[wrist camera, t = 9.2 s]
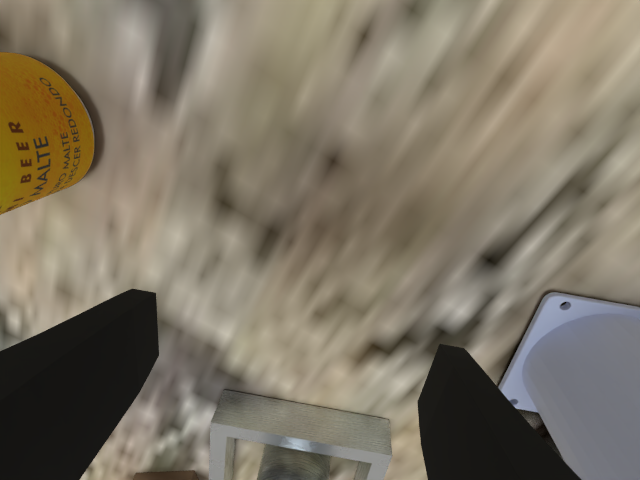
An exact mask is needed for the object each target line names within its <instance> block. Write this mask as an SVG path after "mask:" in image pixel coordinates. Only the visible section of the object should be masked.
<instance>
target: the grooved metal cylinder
mask: <svg viewBox="0 0 640 480" xmlns="http://www.w3.org/2000/svg"><path fill="white" fill-rule="evenodd" d="M329 471H330V456H329V455H324V454H319V453H313V452H308V451H302V450H297V449H292V448H286V447H281V446H275V445H270V444H266V445H265V448H264V452H263V456H262V460H261V464H260V469H259V473H258V477H257V480H329Z"/></svg>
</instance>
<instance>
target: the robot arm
mask: <svg viewBox="0 0 640 480" xmlns="http://www.w3.org/2000/svg"><path fill="white" fill-rule="evenodd" d="M563 302H567V303H566V304H565V305H562V306H560V305H561V304H562V303H563ZM158 356H159V346H158V326H157V306H156V293H153V292H148V291H142V290H137V289H130V290H128V291H126V292H124V293H121V294H119V295H117V296H115V297H113V298H111V299H109V300H107V301H105V302H103V303H101V304H99V305H97V306H95V307H93V308H91V309H89V310H87V311H85V312H83V313H81V314H79V315H77V316H75V317H73V318H71V319H68V320H66V321H64V322H62V323H60V324H58V325H56V326H54V327H52V328H50V329H48V330H46V331H44V332H42V333H40V334H38V335H36V336H33V337H31V338H29V339H27V340H24V341H22V342H20V343H18V344H16V345H13V346H11V347H9V348H7V349H5V350H2V351H0V480H79V479H80V478H81V476H82V475H83V474H84V472H85V471H86V469H87V468H88V466H89V465H90V463H91V462H92V461H93V459H94V458H95V456H96V455H97V453H98V452H99V450H100V449H101V448H102V446H103V445H104V443H105V442H106V440H107V439H108V438H109V436H110V435H111V433H112V432H113V430H114V429H115V427H116V426H117V425H118V423H119V422H120V420H121V419H122V417H123V416H124V414H125V413H126V411H127V410H128V408H129V407H130V406H131V404H132V403H133V401H134V400H135V398H136V397H137V395H138V394H139V392H140V390H141V388H142V387H143V385H144V383H145V381H146V379H147V377H148V376H149V374H150V372H151V370H152V368H153V366H154V364H155V362H156V360H157V358H158ZM511 399H513V400H511ZM516 408H517V409H522V410H528V411H533V412H538V413H539V414H540V416H541V418H542V420H543V422H544V424H545V426H546V427H547V429H548V431H549V433H550V435H551V437H552V439H553V440H554V442H555V444H556V446H557V448H558V450H559V452H560V453H561V455H562V457H563V459H564V461H565V462H564V461H563V460H562V459H561V458H560V457H559V456H558V454H557V453H556V452H555V451H554V450H553V449H552V448H551V447H550V446H549V445H548V444H547V443H546V442H545V441H544V440H543V438H542V437H541V436H540V435H539V434H538V433H537V432H536V431H535V430H534V429H533V427H532V426H531V425H530V424H529V423H528V422H527V421H526V420H525V418H524V417H523V416H522V415H521V414H520V413H519V412H518V410H517V409H516ZM418 414H419V427H420V437H421V446H422V451H423V456H424V461H425V466H426V471H427V476H428V480H640V307H636V306H631V305H625V304H619V303H614V302H608V301H602V300H597V299H591V298H586V297H580V296H574V295H569V294H563V293H557V292H552V293H549V294H547V295H546V296H545V297H544V298H543V299H542V301H541V303H540V305H539V307H538V309H537V311H536V313H535V315H534V317H533V319H532V321H531V323H530V325H529V327H528V329H527V331H526V333H525V335H524V337H523V339H522V341H521V343H520V345H519V347H518V349H517V351H516V353H515V355H514V357H513V359H512V361H511V363H510V365H509V367H508V369H507V371H506V373H505V375H504V377H503V379H502V381H501V383H500V385H499V387H497V386H496V385H495V384H494V382H493V381H492V380H491V379H490V378H489V376H488V375H487V374H486V373H485V372H484V371H483V369H482V368H481V367H480V366H479V365H478V363H477V362H476V361H475V360H474V359H473V358H472V357H471V355H470V354H469V353H468V352H467V351H466V350H465V349H464V348H459V347H454V346H448V345H443V344H440V345H439V347H438V350H437V352H436V355H435V358H434V360H433V363H432V366H431V368H430V371H429V374H428V376H427V379H426V381H425V384H424V387H423V389H422V392H421V395H420V397H419V400H418Z"/></svg>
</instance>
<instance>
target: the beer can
mask: <svg viewBox="0 0 640 480" xmlns="http://www.w3.org/2000/svg"><path fill="white" fill-rule="evenodd" d="M94 141H95V140H94V128H93V124H92V121H91V118H90V115H89V113H88V111H87V109H86V107H85V105H84V103H83V102H82V100H81V99H80V97H79V96H78V95H77V94H76V93H75V91H74V90H73V89H72V88H71V87H70V85H69V84H68V83H67V82H66V81H65V80H64V79H63V78H62V77H61V76H59V75H58V74H57V73H56V72H55V71H53V70H52V69H51V68H49V67H48V66H46V65H45V64H43V63H41V62H40V61H37V60H35V59H33V58H31V57H28V56H25V55H21V54H17V53H8V52H0V215H1V214H3V213H6V212H8V211H11V210H13V209H15V208H18V207H20V206H23V205H25V204H28V203H30V202H33V201H35V200H38V199H40V198H43V197H45V196H48V195H50V194H53V193H55V192H58V191H60V190H63V189H65V188H67V187H70V186H72V185H74V184H75V183H77V182H79V181H80V180H81V179H82V178H83V177H84V176H85V174H86V173H87V171H88V170H89V168H90V166H91V163H92V160H93V156H94Z"/></svg>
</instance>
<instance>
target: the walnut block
mask: <svg viewBox="0 0 640 480" xmlns="http://www.w3.org/2000/svg"><path fill="white" fill-rule="evenodd" d="M133 480H199V479H198V477H197V475H196V473H195V471H194V470H192V471H170V472H147V473H136V474H135V476H134V478H133Z"/></svg>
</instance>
